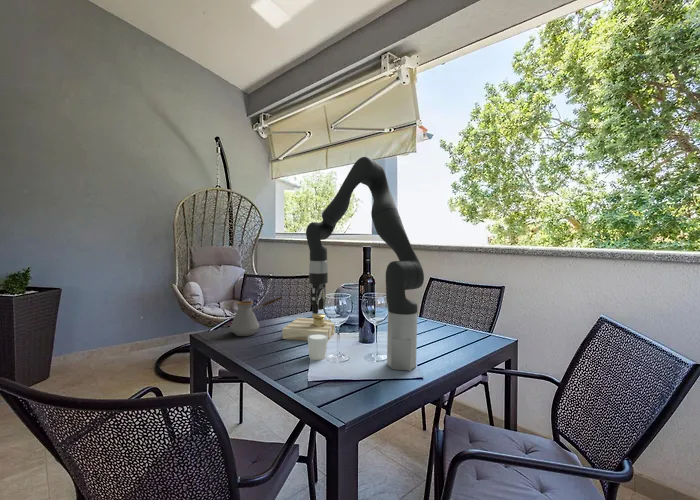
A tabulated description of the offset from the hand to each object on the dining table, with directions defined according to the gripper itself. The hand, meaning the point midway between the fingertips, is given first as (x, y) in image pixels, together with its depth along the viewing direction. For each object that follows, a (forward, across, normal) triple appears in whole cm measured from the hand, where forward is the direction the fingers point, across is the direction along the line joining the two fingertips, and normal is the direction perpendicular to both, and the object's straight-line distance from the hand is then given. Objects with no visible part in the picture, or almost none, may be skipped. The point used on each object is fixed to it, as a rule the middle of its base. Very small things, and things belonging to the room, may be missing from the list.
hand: (318, 311), depth 143 cm
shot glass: (+10, -25, -7) cm, 27 cm away
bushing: (+10, 0, 0) cm, 10 cm away
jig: (+10, 0, +3) cm, 10 cm away
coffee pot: (+10, -3, +25) cm, 27 cm away
